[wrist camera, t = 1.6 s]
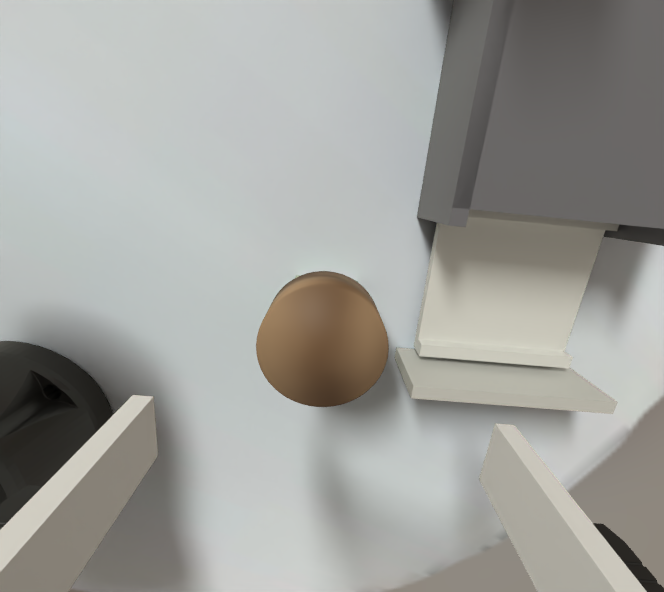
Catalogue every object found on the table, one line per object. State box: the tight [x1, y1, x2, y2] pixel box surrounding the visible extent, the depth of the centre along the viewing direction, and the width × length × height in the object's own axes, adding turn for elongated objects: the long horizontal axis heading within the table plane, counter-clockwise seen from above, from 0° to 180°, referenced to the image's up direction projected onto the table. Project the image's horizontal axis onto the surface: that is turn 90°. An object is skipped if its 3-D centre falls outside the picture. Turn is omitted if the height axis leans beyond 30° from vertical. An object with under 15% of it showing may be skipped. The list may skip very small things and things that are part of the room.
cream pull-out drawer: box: [395, 209, 619, 414], centre depth 24 cm, size 16×15×6 cm
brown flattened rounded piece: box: [256, 271, 388, 407], centre depth 22 cm, size 8×8×4 cm
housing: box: [417, 0, 664, 246], centre depth 20 cm, size 16×15×7 cm
